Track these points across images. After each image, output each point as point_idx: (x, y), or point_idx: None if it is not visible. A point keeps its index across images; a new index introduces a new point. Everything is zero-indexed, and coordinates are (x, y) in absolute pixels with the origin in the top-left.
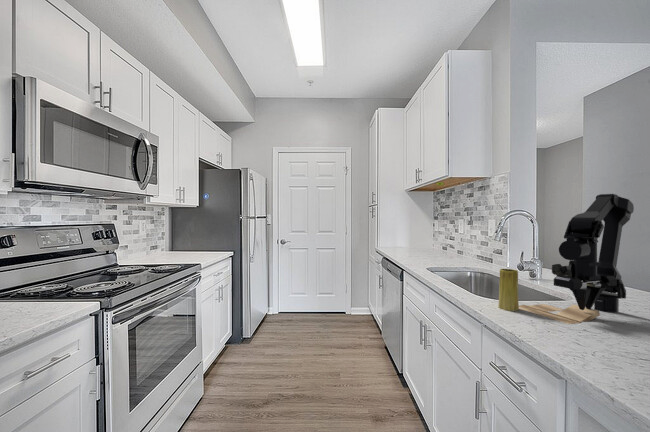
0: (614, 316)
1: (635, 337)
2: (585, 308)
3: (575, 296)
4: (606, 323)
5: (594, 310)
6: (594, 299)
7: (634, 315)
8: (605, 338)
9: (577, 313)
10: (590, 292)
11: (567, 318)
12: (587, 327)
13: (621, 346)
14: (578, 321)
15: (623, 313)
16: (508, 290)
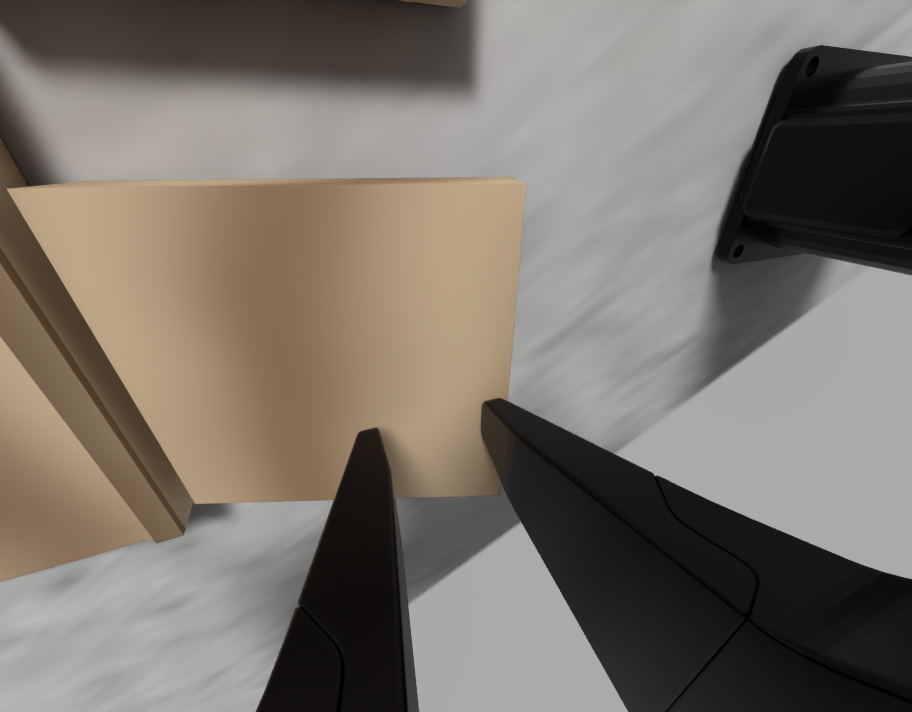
0: None
1: (416, 576)
2: (481, 392)
3: (279, 691)
4: (536, 376)
5: (486, 470)
6: (568, 602)
7: None
8: (201, 637)
9: (311, 399)
10: (692, 699)
11: (80, 434)
12: None
13: (187, 708)
14: (152, 529)
15: None
16: None
